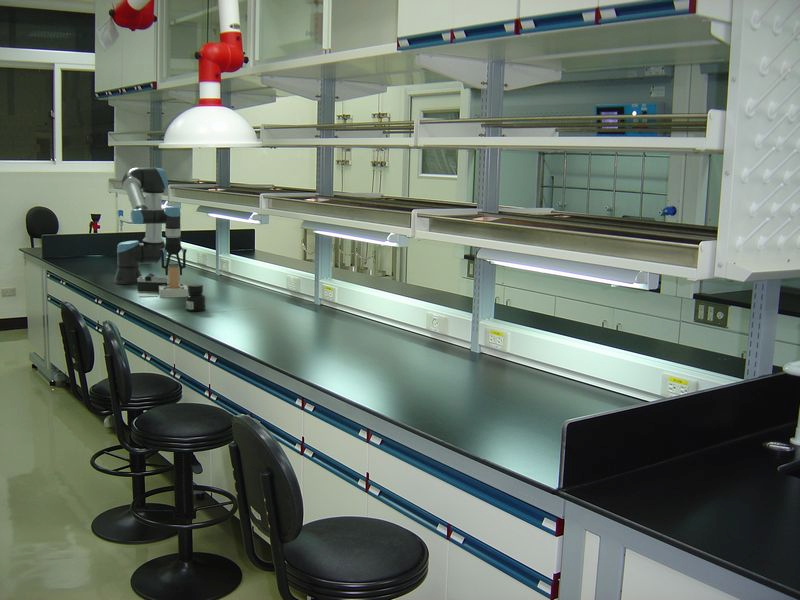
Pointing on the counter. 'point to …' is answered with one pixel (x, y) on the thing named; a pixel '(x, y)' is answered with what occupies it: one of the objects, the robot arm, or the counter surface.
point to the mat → (148, 295)
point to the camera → (150, 283)
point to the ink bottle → (195, 298)
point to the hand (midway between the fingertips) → (173, 281)
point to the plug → (173, 276)
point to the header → (173, 291)
